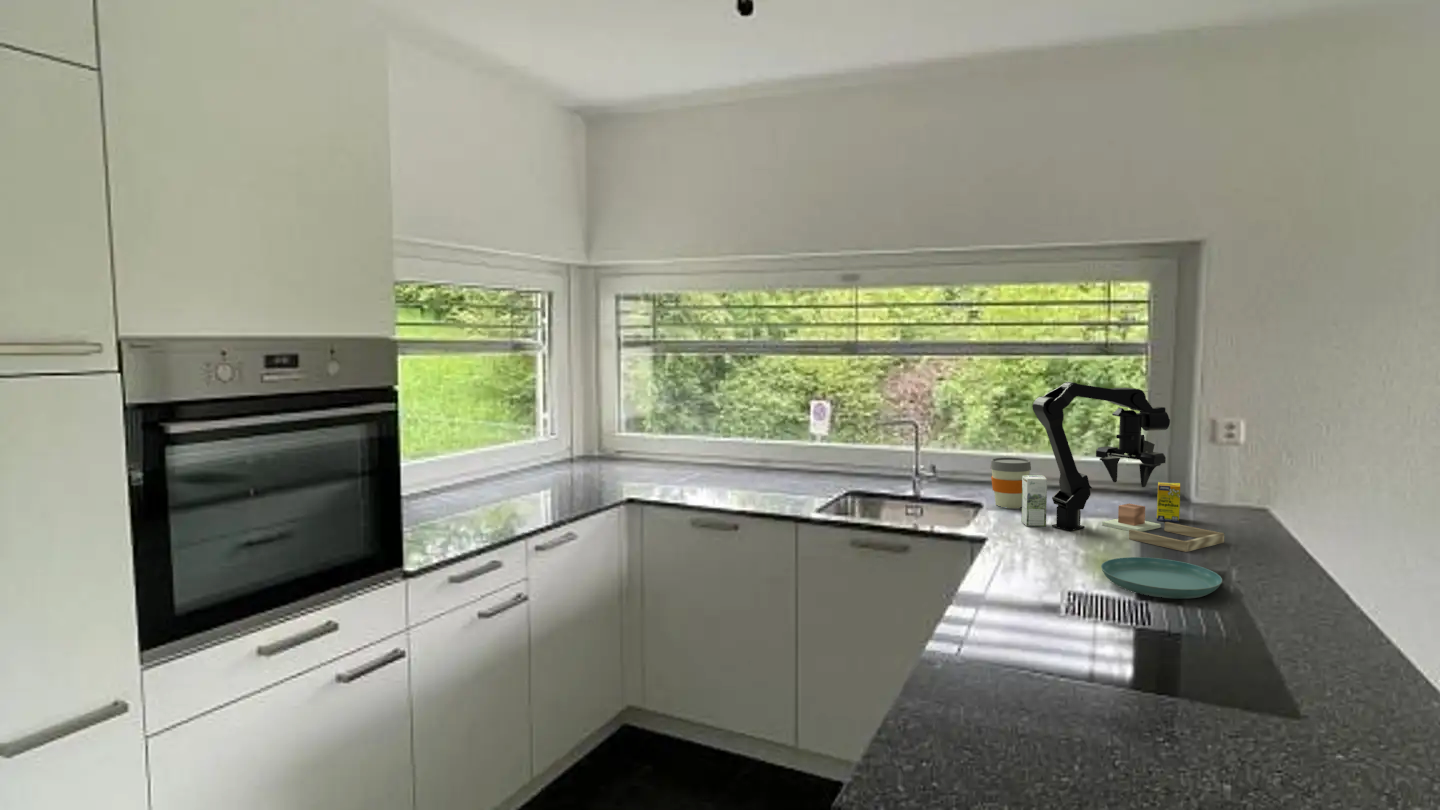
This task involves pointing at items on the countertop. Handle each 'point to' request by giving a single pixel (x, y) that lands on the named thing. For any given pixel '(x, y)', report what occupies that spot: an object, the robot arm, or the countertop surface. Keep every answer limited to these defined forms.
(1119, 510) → the terracotta cube
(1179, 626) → the countertop surface
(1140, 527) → the pad
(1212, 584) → the teal plate
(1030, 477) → the syrup box
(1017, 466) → the reusable coffee cup
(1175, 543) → the open wooden frame
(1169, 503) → the supplement box
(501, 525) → the countertop surface
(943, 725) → the countertop surface
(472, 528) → the countertop surface
